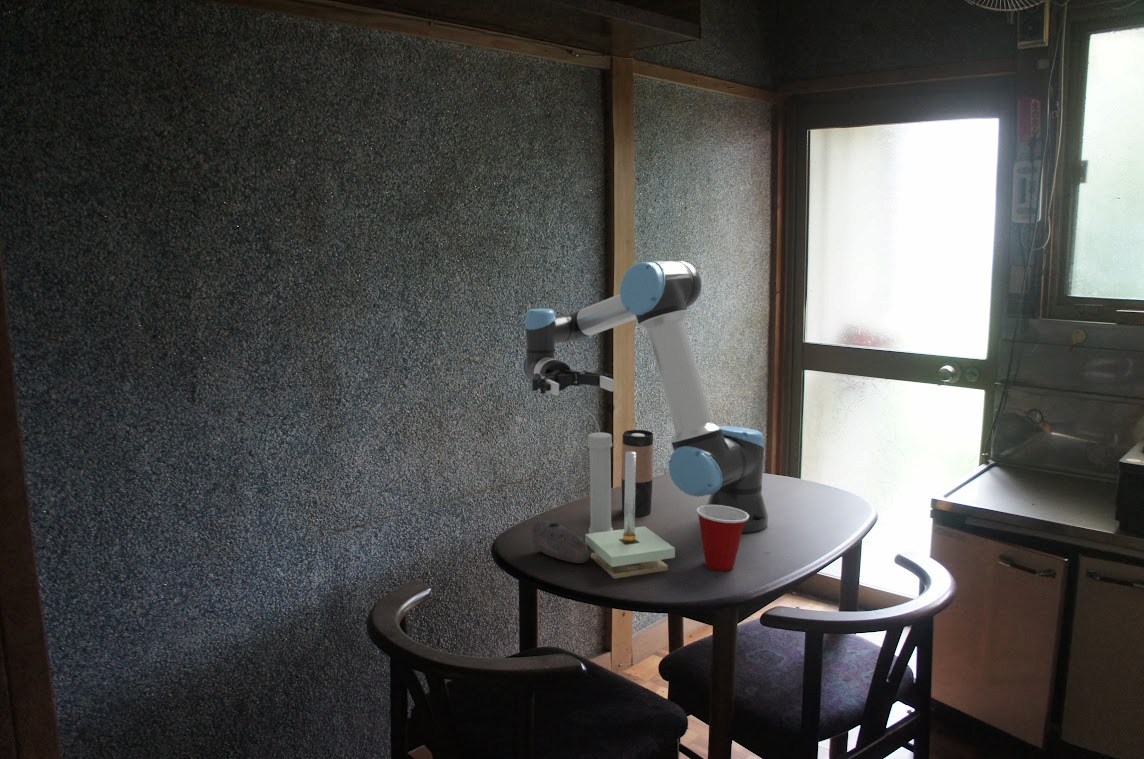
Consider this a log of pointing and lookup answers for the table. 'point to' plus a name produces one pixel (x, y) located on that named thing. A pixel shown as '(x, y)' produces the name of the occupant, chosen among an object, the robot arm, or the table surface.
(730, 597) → the table surface
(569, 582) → the table surface
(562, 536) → the perforated stone tool
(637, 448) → the travel mug
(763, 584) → the table surface
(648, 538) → the pale mint square tile
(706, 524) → the plastic cup
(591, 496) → the pipe
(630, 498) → the post stand
